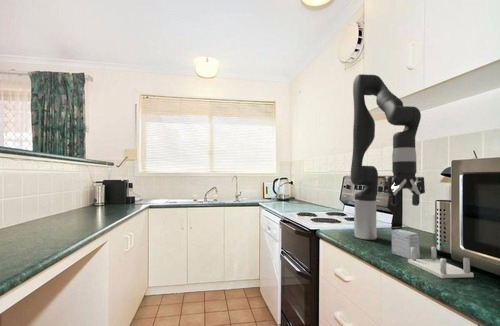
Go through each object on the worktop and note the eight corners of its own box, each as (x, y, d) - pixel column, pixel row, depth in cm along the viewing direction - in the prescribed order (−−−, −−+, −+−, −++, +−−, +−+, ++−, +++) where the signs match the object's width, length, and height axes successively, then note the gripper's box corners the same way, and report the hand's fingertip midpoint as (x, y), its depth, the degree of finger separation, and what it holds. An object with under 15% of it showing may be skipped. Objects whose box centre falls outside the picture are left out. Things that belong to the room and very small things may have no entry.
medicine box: (420, 259, 89) (419, 233, 89) (410, 260, 87) (409, 234, 88) (400, 252, 96) (400, 229, 97) (391, 253, 95) (391, 229, 95)
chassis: (408, 262, 85) (407, 247, 85) (435, 261, 86) (435, 246, 86) (441, 278, 72) (441, 260, 72) (473, 276, 73) (473, 259, 73)
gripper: (414, 161, 98) (414, 204, 97) (379, 160, 96) (379, 204, 96) (430, 160, 90) (430, 206, 90) (392, 159, 89) (393, 207, 88)
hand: (404, 205), depth 93 cm, fingers open, 8 cm apart
